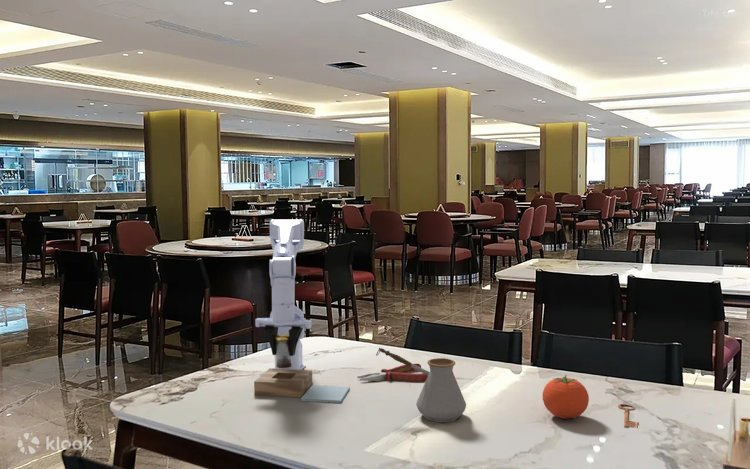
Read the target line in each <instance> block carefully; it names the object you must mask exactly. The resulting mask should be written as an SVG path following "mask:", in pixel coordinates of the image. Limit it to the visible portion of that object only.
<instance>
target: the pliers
mask: <svg viewBox="0 0 750 469" xmlns="http://www.w3.org/2000/svg"><path fill="white" fill-rule="evenodd" d="M413 364H414V365H416V366H418V367H420V368H422V365H421V364H420V363H413ZM411 372H419V371H418V370H416V369H414V368H412V367H410V366H408V365H405V364H401V365H399V366H396V367H393V368H389V369H387V368H382V369H381V370H380V372H371V373H367V374H362V375H358V376H356V378H357V379H359V381H361V382H363V381H365V382H377V381H379V382H380V380H381V381H385V380H386V382H388V381H390V382H391V381H395V380H397V382H398V381H399V382H410V383H411V382H414V383H417V382H419V383H421V382H426V379H427V377H428V376H427V375H425V374H424V373H422V372H420V373H411Z"/></svg>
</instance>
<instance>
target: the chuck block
mask: <svg viewBox="0 0 750 469" xmlns="http://www.w3.org/2000/svg"><path fill="white" fill-rule="evenodd" d="M253 384H254V385H253V388H254V389H253V393H254V395H255V396H266V397H268V396H269V397H283V398H284V397H287V398H302V397H303V396H304V395H303V394H305V393H306V392H307V391H308V390H309V389H310V388H309V387H311V386H312V385H313V370H311V369H309V370H308V369H302V370H294V369H274V368H267V370H265V371H264V372H263V373H262V374H261V375H259V376H258V378H256V379H255V380H254V382H253Z"/></svg>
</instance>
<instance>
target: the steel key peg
mask: <svg viewBox="0 0 750 469" xmlns="http://www.w3.org/2000/svg"><path fill="white" fill-rule="evenodd" d="M275 340H276V367H277V368H289V367H291V366H292V356H290V336H289V334H280V335H276V336H275Z"/></svg>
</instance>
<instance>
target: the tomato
mask: <svg viewBox="0 0 750 469" xmlns="http://www.w3.org/2000/svg"><path fill="white" fill-rule="evenodd" d="M541 396H542V397H541V398H542V402H543V405H544V407H545V409H547V411H549V413H550V414H552V415H553V416H555V417H558V418H560V419H564V420H566V419H568V420H570V419H574V418H577V417H579V416H581V415H582V414H583V413H584V412H585V411H586V410H587V408H588V405H589V401H590V398H589V392H588V390H587V389H586V387H585V386H584V385H583V384H582V382H580V381H578V379H575V378H570V377H567V374H565V376H562V377H555V378H552V379H551V380H550V381H549V382H547V383H546V384H545V386H544V387H543V390H542V394H541Z"/></svg>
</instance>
